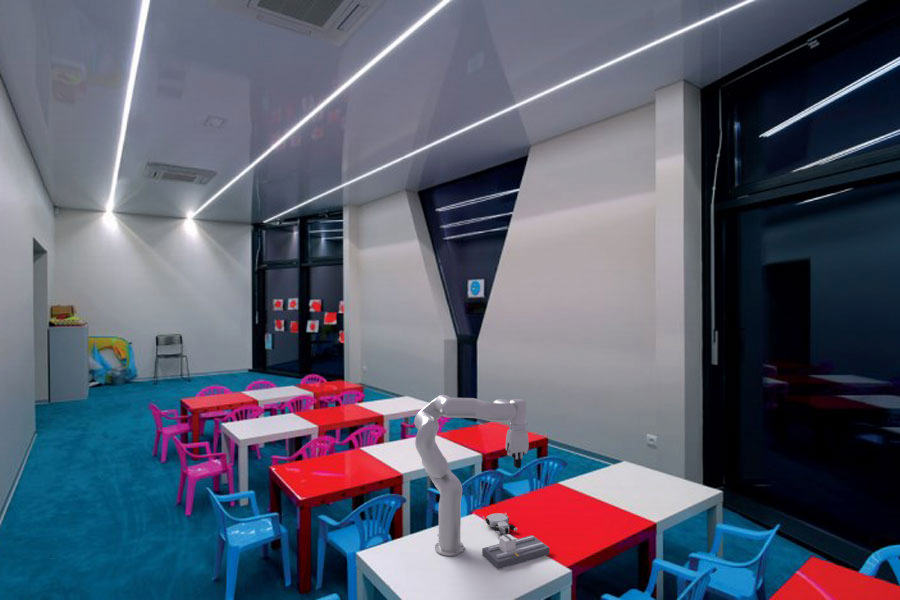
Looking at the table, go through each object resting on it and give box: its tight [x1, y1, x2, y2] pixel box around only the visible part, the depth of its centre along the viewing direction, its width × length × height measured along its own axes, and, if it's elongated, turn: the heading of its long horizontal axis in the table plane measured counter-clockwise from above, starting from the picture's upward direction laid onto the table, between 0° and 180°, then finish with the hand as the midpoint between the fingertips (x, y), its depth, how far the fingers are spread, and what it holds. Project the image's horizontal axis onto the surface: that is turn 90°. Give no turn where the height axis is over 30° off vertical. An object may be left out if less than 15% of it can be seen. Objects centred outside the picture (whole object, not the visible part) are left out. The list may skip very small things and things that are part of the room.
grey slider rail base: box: [481, 534, 550, 570], centre depth 201 cm, size 12×26×4 cm, turn 117°
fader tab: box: [498, 533, 516, 553], centre depth 200 cm, size 5×5×6 cm
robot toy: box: [482, 512, 518, 535], centre depth 225 cm, size 12×4×15 cm
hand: (517, 467), depth 217 cm, fingers closed
